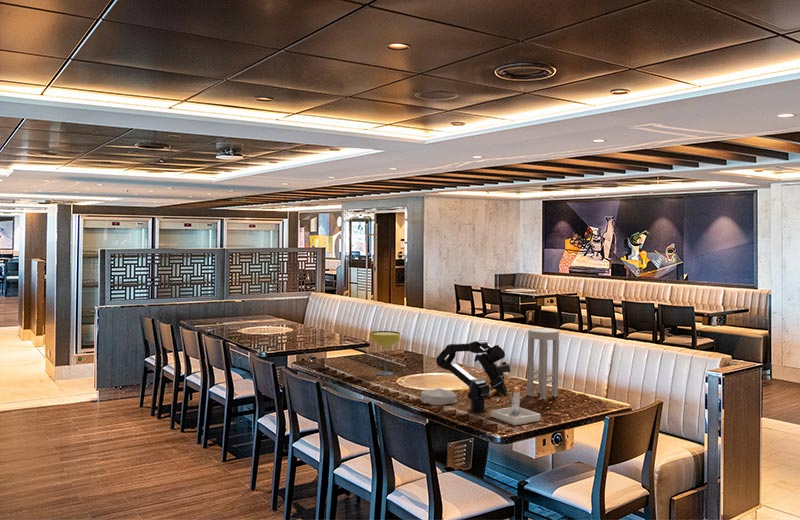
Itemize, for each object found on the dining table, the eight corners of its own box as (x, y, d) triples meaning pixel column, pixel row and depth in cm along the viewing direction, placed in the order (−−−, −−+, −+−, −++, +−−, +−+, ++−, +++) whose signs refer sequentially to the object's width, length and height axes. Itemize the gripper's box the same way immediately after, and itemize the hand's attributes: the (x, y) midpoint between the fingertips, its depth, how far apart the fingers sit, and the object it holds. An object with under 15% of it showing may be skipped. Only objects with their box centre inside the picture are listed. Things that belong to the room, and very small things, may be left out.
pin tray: (490, 416, 301) (490, 410, 301) (516, 412, 310) (516, 406, 309) (513, 425, 288) (513, 418, 287) (540, 420, 296) (540, 414, 296)
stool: (563, 396, 343) (564, 330, 342) (544, 400, 333) (545, 333, 332) (540, 391, 355) (541, 327, 354) (521, 395, 346) (522, 329, 345)
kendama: (495, 401, 336) (511, 390, 350) (493, 390, 336) (508, 379, 350) (482, 402, 340) (498, 391, 355) (480, 390, 340) (495, 380, 355)
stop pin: (507, 415, 301) (507, 386, 301) (519, 415, 302) (520, 386, 301) (510, 418, 295) (511, 389, 295) (523, 418, 296) (524, 389, 296)
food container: (413, 398, 337) (413, 385, 336) (448, 395, 344) (448, 382, 344) (428, 408, 318) (428, 394, 318) (465, 404, 325) (465, 391, 325)
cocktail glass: (393, 378, 384) (394, 335, 383) (365, 375, 390) (366, 333, 389) (404, 372, 400) (404, 332, 400) (377, 370, 407) (377, 330, 406)
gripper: (502, 359, 297) (521, 389, 295) (503, 354, 315) (521, 382, 313) (482, 371, 298) (500, 401, 297) (484, 365, 317) (501, 393, 315)
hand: (506, 394), depth 305 cm, fingers open, 9 cm apart
